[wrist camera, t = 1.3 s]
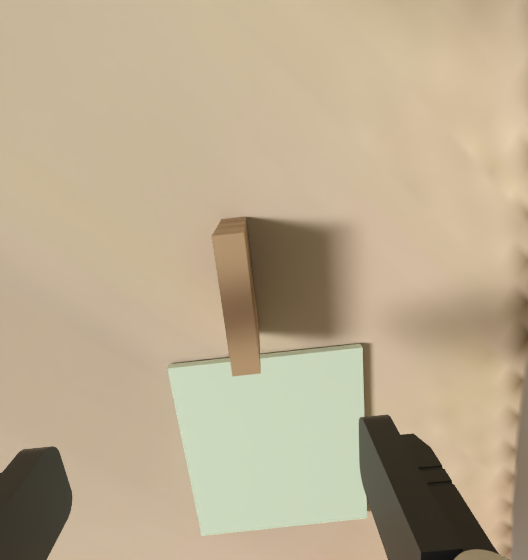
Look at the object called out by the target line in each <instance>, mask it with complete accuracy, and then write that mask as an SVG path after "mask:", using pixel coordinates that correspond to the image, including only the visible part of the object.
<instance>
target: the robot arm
mask: <svg viewBox="0 0 528 560" xmlns="http://www.w3.org/2000/svg"><path fill="white" fill-rule="evenodd" d="M359 465H360V474H361V479H362V484H363V488H364V491H365V494H366V497H367V500H368V503H369V505H370V508H371V511H372V514H373V517H374V520H375V523H376V526H377V529H378V532H379V534H380V537H381V540H382V543H383V546H384V549H385V552H386V555H387V558H388V560H509V559H508V558H506V557H504V556H502V555H500V554H499V553H498V552H497V551H496V549H495V548H494V547H493V545H492V544H491V542H490V540H489V539H488V537H487V536H486V534H485V533H484V531H483V529H482V528H481V526H480V525H479V523H478V521H477V520H476V518H475V517H474V515H473V514H472V512H471V510H470V509H469V507H468V506H467V504H466V503H465V501H464V499H463V498H462V496H461V495H460V493H459V491H458V490H457V488H456V487H455V485H454V484H452V480H451V479H450V477H449V476H448V474H447V473H446V471H445V469H443V468H442V465H441V463H440V461H439V460H438V458H437V457H436V455H435V454H434V452H433V450H432V449H431V447H429V446H428V445H427V444H426V443H424V442H423V441H422V440H421V439H419V438H418V437H417V436H416V435H414V434H404V435H400V433H399V432H398V430H397V428H396V426H395V424H394V423H393V421H392V419H391V417H390V416H389V415H380V416H370V417H360V418H359ZM71 506H72V491H71V488H70V485H69V481H68V478H67V475H66V472H65V469H64V465H63V462H62V459H61V456H60V453H59V451H58V449H57V448H56V447H43V448H33V449H24V450H22V451H20V452H19V453H18V454H17V455H16V456H15V458H14V459H13V460H12V461H11V463H10V464H9V465H8V466H7V468H6V469H5V470H4V471H3V472H2V473H0V560H46V559H47V558H48V556H49V554H50V552H51V550H52V548H53V546H54V544H55V542H56V540H57V538H58V536H59V534H60V533H61V531H62V529H63V527H64V525H65V523H66V521H67V519H68V517H69V514H70V511H71Z"/></svg>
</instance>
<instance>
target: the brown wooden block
mask: <svg viewBox="0 0 528 560" xmlns="http://www.w3.org/2000/svg"><path fill="white" fill-rule="evenodd" d="M212 240H213V247H214V254H215V261H216V267H217V274H218V281H219V288H220V295H221V302H222V308H223V315H224V322H225V329H226V336H227V343H228V350H229V356H230V363H231V370H232V376H242V375H251V374H260V373H261V366H260V341H259V324H258V316H257V307H256V299H255V290H254V282H253V273H252V265H251V256H250V248H249V239H248V231H247V222H246V217H239V218H229V219H221V221H220V223H219V225H218V226H217V228H216V230H215V231H214V233H213V235H212Z"/></svg>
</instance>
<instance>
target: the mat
mask: <svg viewBox="0 0 528 560" xmlns="http://www.w3.org/2000/svg"><path fill="white" fill-rule="evenodd" d="M260 366H261V373H260V374H251V375H242V376H232V370H231V363H230V358H222V359H213V360H204V361H194V362H185V363H176V364H169V366H168V368H167V369H168V374H169V379H170V384H171V389H172V394H173V399H174V404H175V408H176V413H177V418H178V423H179V428H180V433H181V438H182V443H183V448H184V452H185V457H186V462H187V467H188V472H189V477H190V482H191V487H192V492H193V497H194V501H195V506H196V511H197V516H198V521H199V526H200V531H201V536H205V535H214V534H224V533H233V532H243V531H252V530H261V529H271V528H280V527H289V526H299V525H308V524H317V523H327V522H336V521H345V520H355V519H364V518H367V497H366V494H365V491H364V488H363V484H362V479H361V474H360V465H359V418H360V417H364V382H363V347H362V346H361V344H353V345H343V346H334V347H325V348H315V349H306V350H297V351H287V352H278V353H269V354H260Z"/></svg>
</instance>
